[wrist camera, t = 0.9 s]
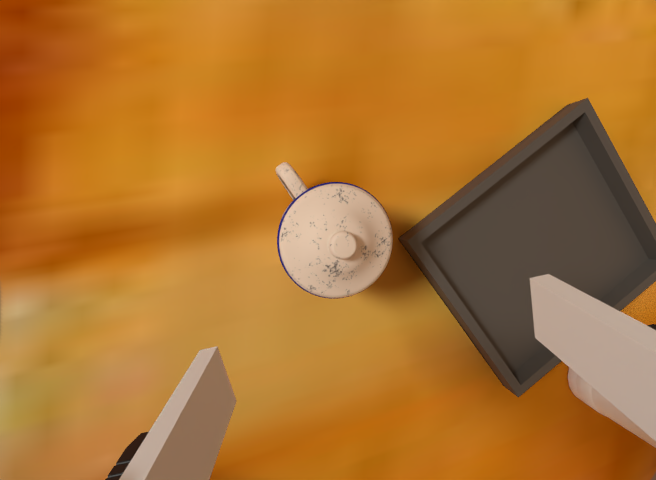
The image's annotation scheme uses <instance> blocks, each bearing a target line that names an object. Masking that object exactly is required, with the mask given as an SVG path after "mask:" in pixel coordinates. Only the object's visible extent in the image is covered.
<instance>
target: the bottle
mask: <svg viewBox="0 0 656 480" xmlns="http://www.w3.org/2000/svg"><path fill="white" fill-rule="evenodd" d="M568 382H569V387H570V389H571V391H572V392H573V394H574V395H575V396H576V397H577V398H579V399H580V400H582V401H583V402H584V403H586V404H587V405H588V406H590V407H591V408H593V409H594V410H596V411H597V412H599V413H600V414H602V415H604V416H607V417H608V418H610V419H611V420H613V421H614V422H616V423H618V424H619V425H621V426H622V427H624V428H625V429H627V430H629V431H630V432H632V433H633V434H635V435H636V436H638V437H639V438H641V439H643V440H644V441H646V442H647V443H649V444H650V445H652V446H654V447H655V448H656V441H655V440H654V439H652V438H651V437H650V436H649V435H648V434H647V433H645V432H644V431H643V430H642V429H641V428H640V427H638V426H637V425H636V424H635V423H634V422H633V421H631V420H630V419H629V418H628V417H627V416H626V415H624V414H623V413H622V412H621V411H620V410H619V409H617V408H616V407H615V406H614V405H613V404H612V403H610V402H609V401H608V400H607V399H606V398H605V397H603V396H602V395H601V394H600V393H599V392H598V391H596V390H595V389H594V388H593V387H592V386H591V385H589V384H588V383H587V382H586V381H585V380H584V379H583V378H581V377H580V376H579V375H578V374H577V373H576V372H574V371H573V370H572V369H571V368H570V367H569V371H568Z"/></svg>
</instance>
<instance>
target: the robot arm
mask: <svg viewBox="0 0 656 480" xmlns="http://www.w3.org/2000/svg"><path fill="white" fill-rule="evenodd" d="M530 288H531V299H532V310H533V321H534V332H535V338H536V339H537V340H538V341H539V342H541V343H542V344H543V345H544V346H545V347H546V348H548V349H549V350H550V351H551V352H552V353H553V354H555V355H556V356H557V357H558V358H559V359H560V360H562V361H563V362H564V363H565V364H566V365H567V366H569V367H570V368H571V369H572V370H573V371H574V372H576V373H577V374H578V375H579V376H580V377H581V378H583V379H584V380H585V381H586V382H587V383H588V384H589V385H591V386H592V387H593V388H594V389H595V390H596V391H598V392H599V393H600V394H601V395H602V396H603V397H605V398H606V399H607V400H608V401H609V402H610V403H612V404H613V405H614V406H615V407H616V408H617V409H619V410H620V411H621V412H622V413H623V414H624V415H626V416H627V417H628V418H629V419H630V420H631V421H633V422H634V423H635V424H636V425H637V426H638V427H640V428H641V429H642V430H643V431H644V432H645V433H647V434H648V435H649V436H650V437H651V438H652V439H654V440H655V441H656V325H655V324H652V325H645V324H643V323H641V322H639V321H637V320H635V319H633V318H632V317H630V316H628V315H626V314H624V313H622V312H620V311H618V310H616V309H614V308H612V307H611V306H609V305H607V304H605V303H603V302H601V301H599V300H597V299H595V298H593V297H592V296H590V295H588V294H586V293H584V292H582V291H580V290H578V289H576V288H574V287H572V286H571V285H569V284H567V283H565V282H563V281H561V280H559V279H557V278H555V277H553V276H552V275H550V274H546V275H541V276H537V277H532V278H530ZM235 404H236V398H235V396H234V393H233V390H232V387H231V384H230V381H229V378H228V376H227V373H226V370H225V367H224V364H223V361H222V358H221V355H220V353H219V350H218V347H212V348H208V349H203V350H200V351H199V352H198V354H197V356H196V357H195V359H194V360H193V362H192V364H191V365H190V367H189V368H188V370H187V372H186V373H185V375H184V376H183V378H182V380H181V381H180V383H179V384H178V386H177V388H176V389H175V391H174V392H173V394H172V396H171V397H170V399H169V400H168V402H167V404H166V405H165V407H164V408H163V410H162V412H161V413H160V415H159V416H158V418H157V420H156V421H155V423H154V425H153V426H152V428H151V429H150V431H149V432H145V433H141V434H140V435H139V436H138V437H137V438H136V439H135V440H134V441H133V442H132V443H131V444H130V445H129V446H128V447H127V448H126V449H125V451H124V452H123V454H122V455H121V457H120V458H119V460H118V461H117V463H116V466H114V467H113V469H112V470H111V472H110V473H109V475H108V478H107V479H105V480H209V479H210V476H211V473H212V470H213V467H214V464H215V461H216V459H217V456H218V453H219V450H220V447H221V444H222V441H223V438H224V435H225V433H226V430H227V427H228V424H229V421H230V418H231V415H232V412H233V409H234V407H235Z"/></svg>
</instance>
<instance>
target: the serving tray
mask: <svg viewBox="0 0 656 480" xmlns="http://www.w3.org/2000/svg"><path fill="white" fill-rule="evenodd" d="M398 239H399V240H400V242H401V243H402V245H403V246H404V247H405V249H406V250H407V252H408V253H409V254H410V256H411V257H412V258H413V260H414V261H415V263H416V264H417V265H418V267H419V268H420V270H421V271H422V272H423V274H424V275H425V277H426V278H427V279H428V281H429V282H430V284H431V285H432V286H433V288H434V289H435V291H436V292H437V293H438V295H439V296H440V298H441V299H442V300H443V302H444V303H445V305H446V306H447V307H448V309H449V310H450V312H451V313H452V314H453V316H454V317H455V319H456V320H457V321H458V323H459V324H460V326H461V327H462V328H463V330H464V331H465V333H466V334H467V335H468V337H469V338H470V340H471V341H472V342H473V344H474V345H475V347H476V348H477V349H478V351H479V352H480V354H481V355H482V356H483V358H484V359H485V361H486V362H487V363H488V365H489V366H490V367H491V369H492V370H493V372H494V373H495V374H496V376H497V377H498V379H499V380H500V381H501V383H502V384H503V386H505V387H506V388H507V389H508V390H510V391H511V392H512V393H513V394H515V395H516V396H517V397H519V396H521V395H522V394H523V393H524V392H525V391H527V390H528V389H529V388H530V387H531V386H532V385H534V384H535V383H536V382H537V381H538V380H540V379H541V378H542V377H543V376H544V375H545V374H547V373H548V372H549V371H550V370H551V369H552V368H554V367H555V366H556V365H557V364H558V363H560V362H561V361H562V360H560V359H559V358H558V357H557V356H556V355H555V354H553V353H552V352H551V351H550V350H549V349H548V348H546V347H545V346H544V345H543V344H542V343H541V342H539V341H538V340H537V339H536V338H535V332H534V321H533V310H532V299H531V288H530V278H532V277H537V276H541V275H546V274H550V275H552V276H553V277H555V278H557V279H559V280H561V281H563V282H565V283H567V284H569V285H571V286H572V287H574V288H576V289H578V290H580V291H582V292H584V293H586V294H588V295H590V296H592V297H593V298H595V299H597V300H599V301H601V302H603V303H605V304H607V305H609V306H611V307H612V308H614V309H616V310H618V311H621V310H622V309H623V308H624V307H626V306H627V305H628V304H629V303H630V302H631V301H633V300H634V299H635V298H636V297H637V296H638V295H640V294H641V293H642V292H643V291H644V290H646V289H647V288H648V287H649V286H650V285H651V284H653V283H654V282H655V281H656V223H655V221H654V220H653V218H652V216H651V214H650V212H649V210H648V208H647V207H646V205H645V203H644V201H643V199H642V197H641V196H640V194H639V192H638V190H637V188H636V186H635V184H634V183H633V181H632V179H631V177H630V175H629V173H628V172H627V170H626V168H625V166H624V164H623V162H622V160H621V159H620V157H619V155H618V153H617V151H616V149H615V148H614V146H613V144H612V142H611V140H610V138H609V136H608V135H607V133H606V131H605V129H604V127H603V125H602V124H601V122H600V120H599V118H598V116H597V114H596V112H595V111H594V109H593V107H592V105H591V103H590V101H589V99H588V98H586V99H583V100H580V101H578V102H575V103H572V104H569V105H567V106H565V107H564V108H563V109H562V110H560V111H559V112H558V113H556V114H555V115H554V116H553V117H551V118H550V119H549V120H548V121H546V122H545V123H544V124H543V125H541V126H540V127H539V128H538V129H536V130H535V131H534V132H532V133H531V134H530V135H529V136H527V137H526V138H525V139H524V140H522V141H521V142H520V143H519V144H517V145H516V146H515V147H513V148H512V149H511V150H510V151H508V152H507V153H506V154H505V155H503V156H502V157H501V158H500V159H498V160H497V161H496V162H495V163H493V164H492V165H491V166H489V167H488V168H487V169H486V170H484V171H483V172H482V173H481V174H479V175H478V176H477V177H476V178H474V179H473V180H472V181H471V182H469V183H468V184H467V185H465V186H464V187H463V188H462V189H460V190H459V191H458V192H457V193H455V194H454V195H453V196H452V197H450V198H449V199H448V200H446V201H445V202H444V203H443V204H441V205H440V206H439V207H438V208H436V209H435V210H434V211H433V212H431V213H430V214H429V215H428V216H426V217H425V218H424V219H422V220H421V221H420V222H419V223H417V224H416V225H415V226H414V227H412V228H411V229H410V230H409V231H407V232H406V233H405V234H403V235H402V236H401V237H400V238H398Z"/></svg>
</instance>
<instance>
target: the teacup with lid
mask: <svg viewBox="0 0 656 480" xmlns="http://www.w3.org/2000/svg"><path fill="white" fill-rule="evenodd" d="M276 173H277V176H278V177H279V179H280V181H281V182H282V184H283V185H284V187H285V188H286V190H287V191H288V193H289V194H290V196H291V197H292V199H293V200H294V201H293V202H292V203H291V204H290V205H289V206H288V207H287V209H286V210H285V212H284V214H283V216H282V219H281V222H280V225H279V230H278V236H277V245H278V253H279V257H280V260H281V263H282V265H283V267H284V269H285V271H286V273H287V274H288V276H289V277H290V278H291V279H292V280H293V281H294V282H295V283H296V284H297V285H298V286H299V287H300V288H302V289H303V290H305V291H307V292H309V293H311V294H313V295H316V296H319V297H324V298H344V297H349V296H352V295H355V294H357V293H359V292H361V291H363V290H365V289H366V288H368V287H369V286H370V285H372V284H373V283H374V282H375V281H376V280H377V279H378V278H379V277H380V275H381V274H382V273H383V271H384V269H385V268H386V266H387V264H388V261H389V258H390V255H391V251H392V242H393V237H392V228H391V224H390V221H389V218H388V216H387V213H386V212H385V210H384V208H383V207H382V205H381V204H380V203H379V201H378V200H377V199H376V198H375V197H374V196H373V195H371V194H370V193H369V192H367V191H366V190H364V189H362V188H360V187H358V186H355V185H352V184H348V183H342V182H329V183H323V184H320V185H317V186H314V187H312V188H310V189H308V188H307V187H306V185H305V184H304V183H303V181H302V180H301V178H300V177H299V175H298V174H297V173H296V171H295V170H294V169H293V168H292V166H291V165H290V164H288V163H286V162H283V163H281V164H280V165H279V166H277V167H276Z"/></svg>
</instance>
